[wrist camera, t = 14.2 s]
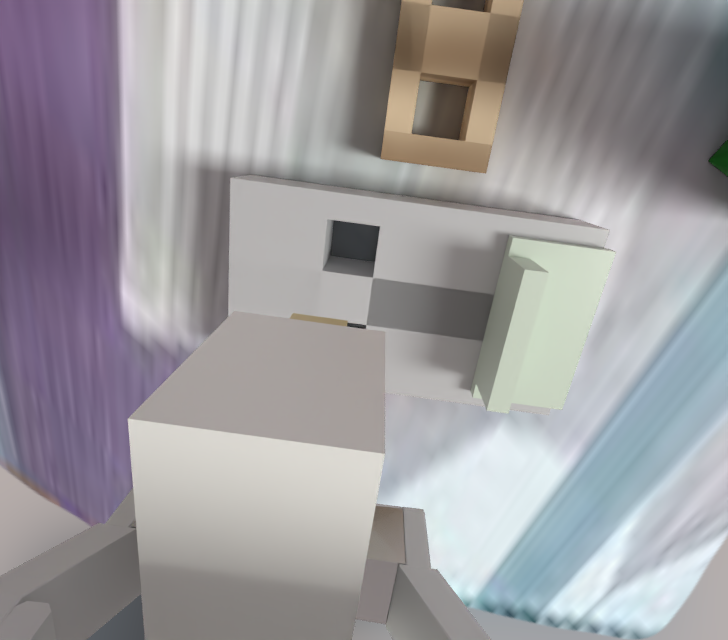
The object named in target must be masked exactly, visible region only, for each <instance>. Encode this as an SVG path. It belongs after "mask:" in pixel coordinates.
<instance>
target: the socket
mask: <svg viewBox="0 0 728 640" xmlns="http://www.w3.org/2000/svg"><path fill="white" fill-rule="evenodd" d="M334 220H337V221H344V222H351V223H359V224H366V225H373V226H380V228H379V235H378V242H377V249H376V256H375V262H371V261H364V260H356V259H349V258H342V257H335V256H330V255H331V245H332V235H333V225H334ZM609 232H610V230H608V229H605V228H602V227H599V226H596V225H593V224H590V223H587V222H584V221H581V220H577V219H570V218H562V217H555V216H548V215H541V214H533V213H526V212H519V211H512V210H504V209H497V208H490V207H482V206H475V205H468V204H461V203H453V202H446V201H439V200H432V199H424V198H417V197H410V196H403V195H395V194H388V193H381V192H374V191H366V190H359V189H352V188H345V187H337V186H330V185H323V184H316V183H308V182H301V181H294V180H287V179H279V178H272V177H265V176H258V175H246V176H239V177H233V178H230V226H229V288H228V317H229V316H230V315H231V314H232V313H233V312H234V311H238V312H245V313H253V314H260V315H267V316H274V317H282V318H289V319H290V317H291V315H292V314H293V313H296V314H304V315H311V316H318V317H325V318H333V319H340V320H347V321H348V323H355V324H362V325H366V328H365V329H369V330H376V331H383V332H385V393H390V394H397V395H404V396H412V397H419V398H426V399H434V400H441V401H448V402H455V403H463V404H470V405H477V406H485V405H484V402H483V400H482V399H479V398H473V397H472V394H471V392H470V390H471V386H472V382H473V378H474V374H475V370H476V366H477V362H478V358H479V354H480V350H481V346H482V342H483V338H484V334H485V330H486V326H487V322H488V318H489V314H490V310H491V306H492V302H493V298H494V294H495V290H496V286H497V282H498V278H499V274H500V270H501V266H502V262H503V258H504V254H505V250H506V246H507V242H508V238H509V235H512V236H519V237H526V238H533V239H541V240H548V241H555V242H562V243H570V244H577V245H584V246H591V247H599V248H604V247H605V244H606V241H607V238H608V235H609ZM510 410H514V411H521V412H528V413H536V414H543V415H549V413H550V410H551V408H544V407H537V406H530V405H523V404H515V403H511V407H510Z"/></svg>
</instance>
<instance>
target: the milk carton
mask: <svg viewBox="0 0 728 640" xmlns="http://www.w3.org/2000/svg"><path fill="white" fill-rule="evenodd" d="M709 162H710V163H711V164H712V165H714V166H715V167H716V168H717V169H719V170H720V171H721V172H722V173H724V174H725V175H726V176H727V177H728V139H727V141H726V142H725V143H724V144H723V145H722V146H721V147H720V148H719V149H718V151H717V152H716V153H715V154H714V155H713V156H712V157H711V158H710V160H709Z"/></svg>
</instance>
